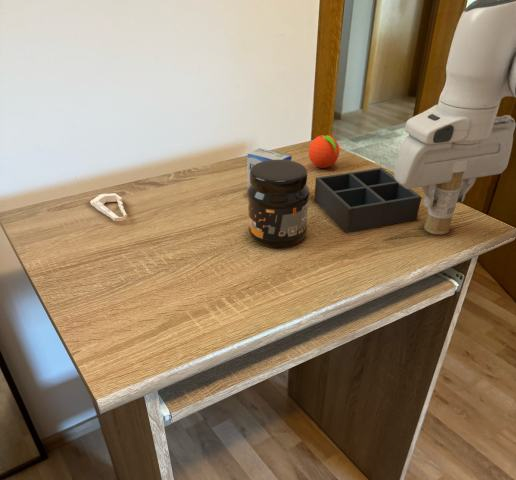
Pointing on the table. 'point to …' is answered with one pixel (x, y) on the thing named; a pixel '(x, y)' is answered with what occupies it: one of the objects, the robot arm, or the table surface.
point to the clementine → (323, 151)
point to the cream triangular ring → (99, 205)
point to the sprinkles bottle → (445, 201)
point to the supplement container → (278, 202)
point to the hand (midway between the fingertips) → (443, 203)
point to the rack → (366, 199)
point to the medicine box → (263, 158)
